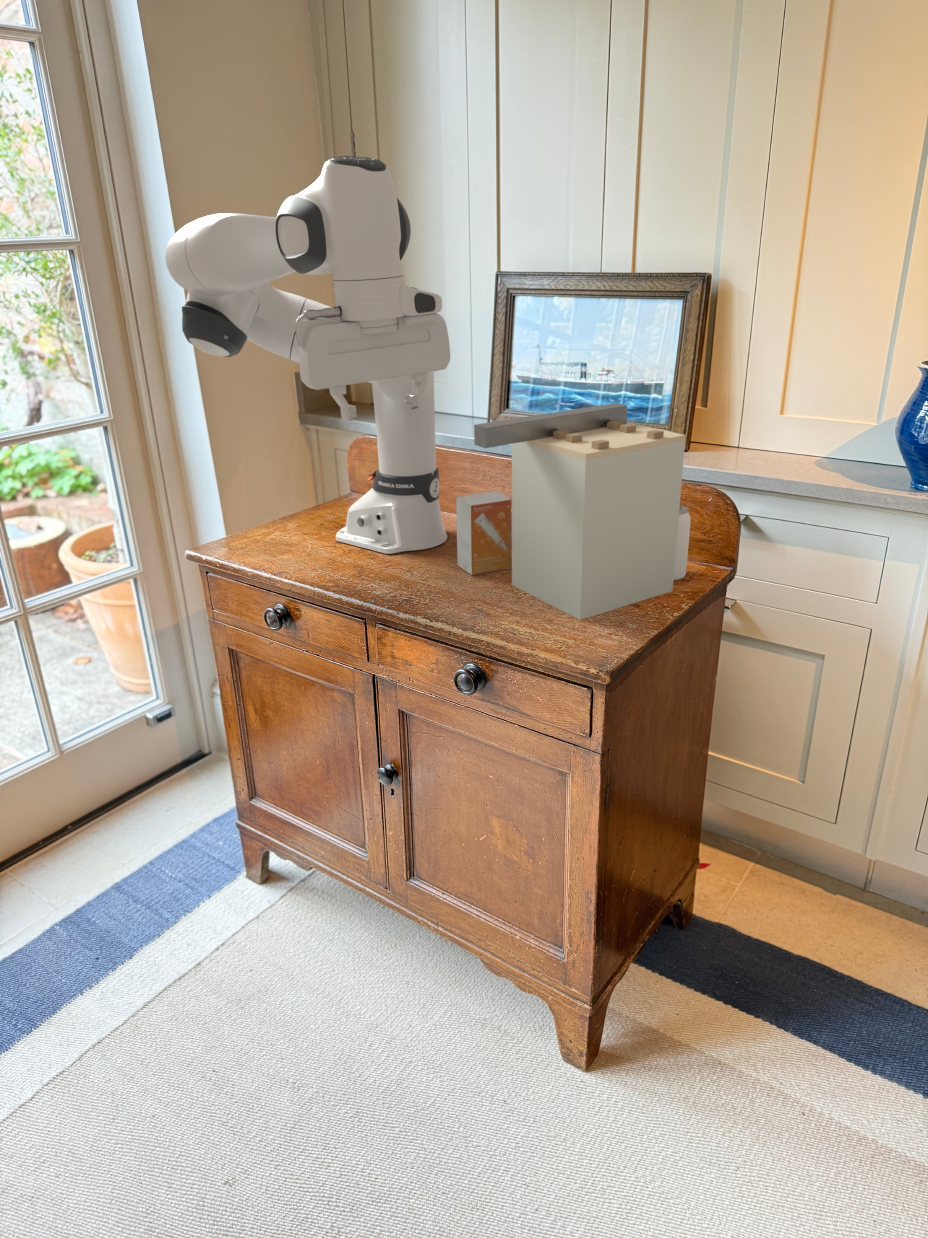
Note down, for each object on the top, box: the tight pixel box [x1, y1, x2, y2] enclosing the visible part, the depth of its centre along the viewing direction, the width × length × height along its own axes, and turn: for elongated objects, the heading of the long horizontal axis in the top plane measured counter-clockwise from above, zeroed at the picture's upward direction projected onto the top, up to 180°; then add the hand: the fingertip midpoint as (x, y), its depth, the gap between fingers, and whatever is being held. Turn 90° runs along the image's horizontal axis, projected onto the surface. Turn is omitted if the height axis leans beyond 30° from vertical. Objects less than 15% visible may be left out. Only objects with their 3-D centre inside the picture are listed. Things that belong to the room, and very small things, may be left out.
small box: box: [455, 490, 512, 576], centre depth 151 cm, size 8×6×13 cm
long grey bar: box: [473, 402, 628, 449], centre depth 132 cm, size 28×3×3 cm, turn 123°
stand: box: [511, 421, 686, 621], centre depth 137 cm, size 20×18×27 cm
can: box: [673, 504, 692, 582], centre depth 145 cm, size 6×6×12 cm
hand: (382, 413), depth 111 cm, fingers open, 8 cm apart
